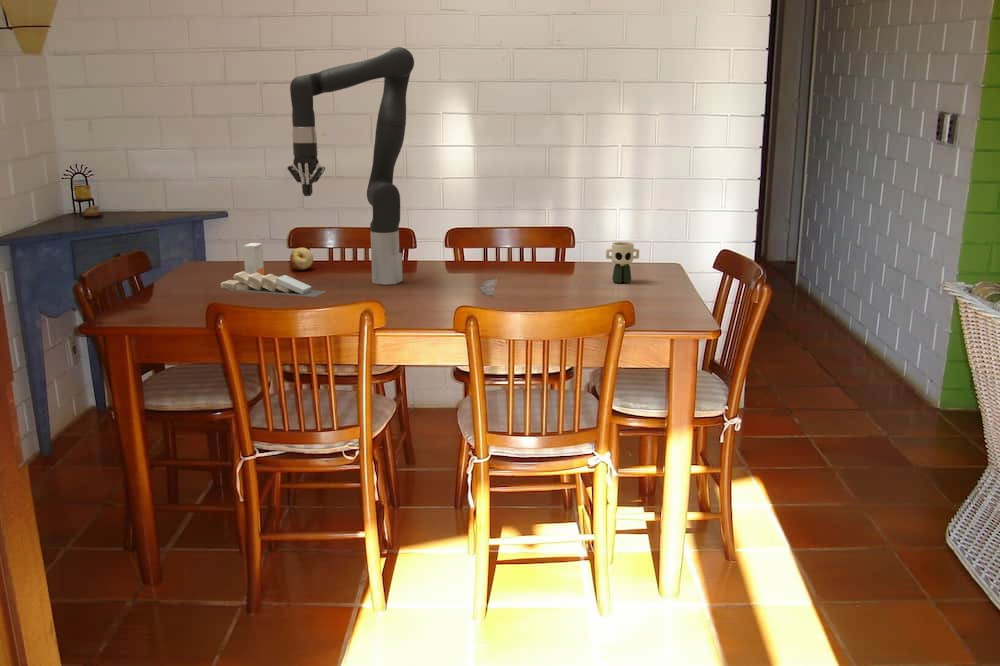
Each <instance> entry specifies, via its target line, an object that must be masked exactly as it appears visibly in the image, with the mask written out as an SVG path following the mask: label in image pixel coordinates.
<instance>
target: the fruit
mask: <svg viewBox="0 0 1000 666" xmlns="http://www.w3.org/2000/svg"><path fill="white" fill-rule="evenodd" d="M289 261H290V263H291V266H292V268H294V269H296V270H298V271H304V270H307V269H308V268H310V267H311V265H312V264H313V262H314V255H313V253H312V251H311V250H309V249H308V248H306V247H298V248H295V249H293V250H292V251H291V253H290V256H289Z"/></svg>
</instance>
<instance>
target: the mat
mask: <svg viewBox="0 0 1000 666" xmlns="http://www.w3.org/2000/svg"><path fill="white" fill-rule="evenodd" d="M225 289H226V291H227V290H228V291H238V292H248V293H249V292H251V293H261V294H262V293H263V294H275V295H286V296H287V295H288V296H299V297H308V296H309V297H311V298H316V297H318V296H320V295H322V294H323V295H324V293H327V292H328V291H327V290H315V289H314V290H313V289H311V291H310V292H307V293H305V294H300V293H298V292H295V291H293V292H290V293H286V292H283V291H281V290H279V291H276V292H272V291H270V290H268V289H263V290H260V291H259V290H257V289H255V288H252V289H250V290H240V289H228V288H225ZM309 297H308V298H309Z"/></svg>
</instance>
